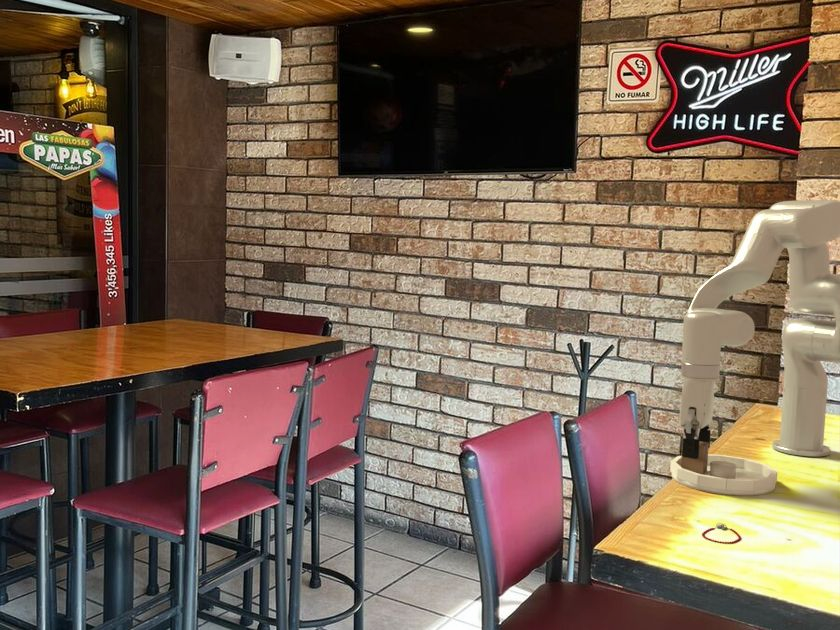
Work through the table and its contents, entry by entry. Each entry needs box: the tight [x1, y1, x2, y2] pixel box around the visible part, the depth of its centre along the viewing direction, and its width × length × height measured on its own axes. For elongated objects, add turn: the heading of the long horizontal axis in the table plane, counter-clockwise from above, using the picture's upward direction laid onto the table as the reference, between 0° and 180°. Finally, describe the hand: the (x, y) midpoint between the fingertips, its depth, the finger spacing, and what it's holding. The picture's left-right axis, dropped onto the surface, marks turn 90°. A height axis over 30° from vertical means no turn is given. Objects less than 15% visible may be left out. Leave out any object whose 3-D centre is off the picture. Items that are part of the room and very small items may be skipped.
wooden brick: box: [681, 441, 709, 475], centre depth 175 cm, size 4×4×6 cm
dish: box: [669, 453, 779, 497], centre depth 172 cm, size 20×20×4 cm
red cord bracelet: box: [701, 522, 742, 545], centre depth 140 cm, size 9×6×1 cm
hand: (696, 452), depth 175 cm, fingers open, 9 cm apart
